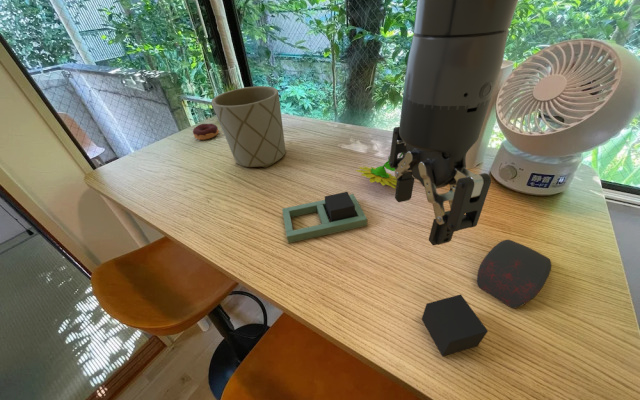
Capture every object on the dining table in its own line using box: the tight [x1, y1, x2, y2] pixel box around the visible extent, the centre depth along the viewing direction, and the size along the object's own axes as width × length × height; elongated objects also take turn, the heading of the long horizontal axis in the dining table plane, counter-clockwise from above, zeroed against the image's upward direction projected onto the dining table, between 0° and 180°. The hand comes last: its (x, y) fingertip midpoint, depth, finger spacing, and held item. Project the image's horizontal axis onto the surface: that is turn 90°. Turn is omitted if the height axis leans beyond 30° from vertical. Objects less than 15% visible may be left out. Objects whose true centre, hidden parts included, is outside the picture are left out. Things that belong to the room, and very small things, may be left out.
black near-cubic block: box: [324, 191, 355, 222], centre depth 57 cm, size 5×5×4 cm
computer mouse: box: [476, 239, 552, 309], centre depth 42 cm, size 8×14×4 cm, turn 130°
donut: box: [192, 123, 220, 141], centre depth 103 cm, size 10×10×4 cm
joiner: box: [281, 193, 368, 244], centre depth 57 cm, size 10×18×2 cm, turn 103°
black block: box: [421, 294, 489, 357], centre depth 36 cm, size 5×5×4 cm
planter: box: [211, 85, 286, 169], centre depth 79 cm, size 19×19×20 cm
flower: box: [355, 153, 403, 190], centre depth 65 cm, size 12×9×30 cm
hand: (418, 219), depth 33 cm, fingers open, 8 cm apart
